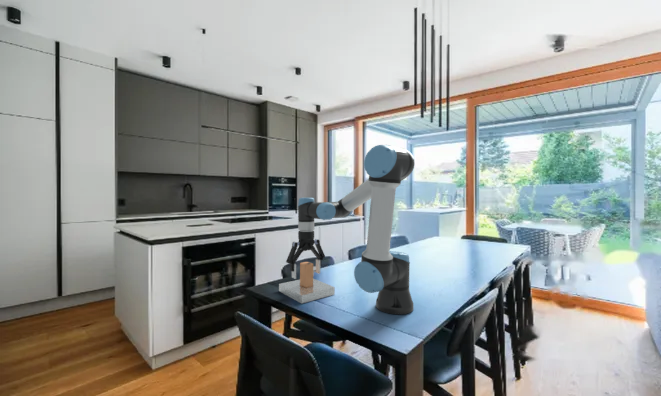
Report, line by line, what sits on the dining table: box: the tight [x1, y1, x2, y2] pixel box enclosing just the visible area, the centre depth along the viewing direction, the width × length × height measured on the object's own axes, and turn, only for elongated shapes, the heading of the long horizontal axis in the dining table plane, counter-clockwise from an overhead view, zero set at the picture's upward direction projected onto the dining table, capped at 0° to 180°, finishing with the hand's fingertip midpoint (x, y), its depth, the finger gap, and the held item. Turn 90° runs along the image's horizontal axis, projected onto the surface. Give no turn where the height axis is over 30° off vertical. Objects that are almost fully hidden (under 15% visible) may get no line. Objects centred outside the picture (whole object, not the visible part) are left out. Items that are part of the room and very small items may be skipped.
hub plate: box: [278, 278, 336, 305], centre depth 140 cm, size 20×18×4 cm
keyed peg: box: [299, 261, 314, 288], centre depth 140 cm, size 5×4×14 cm
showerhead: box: [313, 265, 316, 277], centre depth 162 cm, size 9×7×10 cm
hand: (306, 275), depth 140 cm, fingers open, 13 cm apart
